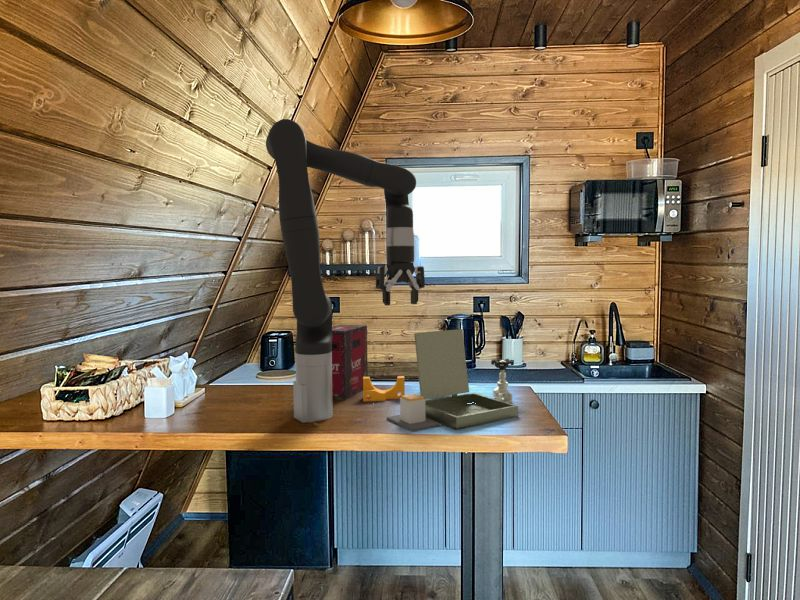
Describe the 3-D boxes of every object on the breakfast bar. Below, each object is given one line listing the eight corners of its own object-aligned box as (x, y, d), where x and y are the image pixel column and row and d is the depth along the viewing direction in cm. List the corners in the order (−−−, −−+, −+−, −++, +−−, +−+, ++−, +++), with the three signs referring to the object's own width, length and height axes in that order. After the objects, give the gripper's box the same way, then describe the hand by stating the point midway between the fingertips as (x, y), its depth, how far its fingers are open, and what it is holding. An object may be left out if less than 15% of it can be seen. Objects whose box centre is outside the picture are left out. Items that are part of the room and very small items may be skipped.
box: (342, 386, 180) (341, 324, 178) (367, 388, 177) (367, 325, 176) (318, 397, 164) (316, 330, 163) (345, 400, 161) (344, 331, 160)
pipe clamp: (363, 402, 159) (362, 379, 159) (363, 398, 164) (363, 376, 163) (405, 401, 160) (404, 379, 159) (404, 397, 164) (404, 376, 164)
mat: (412, 431, 130) (412, 428, 130) (386, 419, 140) (386, 417, 140) (440, 425, 134) (440, 423, 134) (413, 414, 144) (413, 412, 144)
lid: (415, 333, 148) (412, 333, 149) (422, 399, 146) (418, 399, 148) (462, 329, 156) (458, 329, 157) (469, 392, 154) (465, 392, 156)
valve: (495, 406, 153) (495, 362, 152) (487, 400, 159) (487, 358, 159) (518, 405, 154) (518, 362, 153) (509, 399, 160) (509, 358, 160)
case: (456, 430, 131) (456, 383, 130) (407, 410, 149) (407, 369, 149) (518, 417, 141) (518, 374, 140) (465, 400, 159) (465, 362, 159)
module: (409, 423, 134) (409, 399, 134) (400, 419, 138) (400, 395, 138) (425, 421, 136) (425, 396, 136) (415, 416, 140) (415, 393, 140)
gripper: (384, 244, 144) (385, 306, 145) (429, 244, 151) (430, 304, 152) (370, 245, 150) (371, 305, 151) (414, 245, 157) (415, 302, 158)
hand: (400, 304), depth 151 cm, fingers open, 8 cm apart
